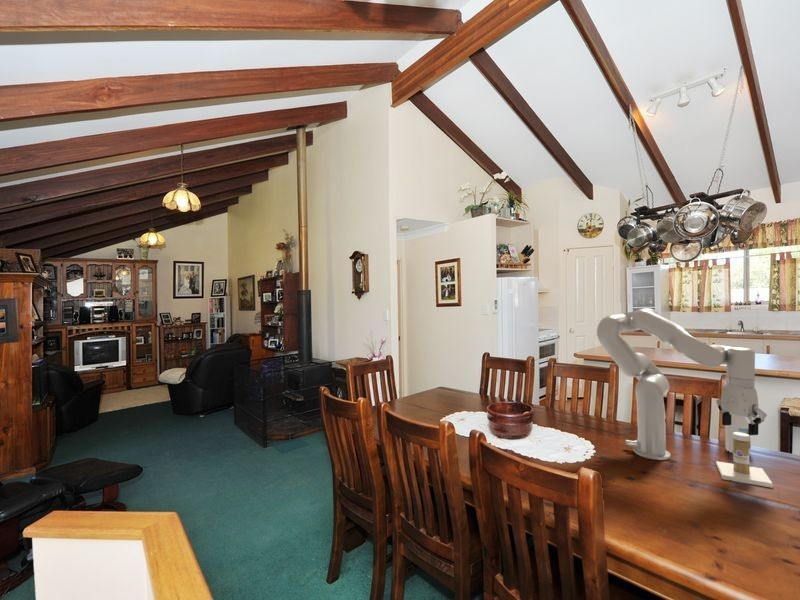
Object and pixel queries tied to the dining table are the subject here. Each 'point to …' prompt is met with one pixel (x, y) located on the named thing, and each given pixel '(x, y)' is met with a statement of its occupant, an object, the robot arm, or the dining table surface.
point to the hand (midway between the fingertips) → (739, 429)
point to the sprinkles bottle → (741, 452)
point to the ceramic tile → (744, 475)
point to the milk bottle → (735, 430)
